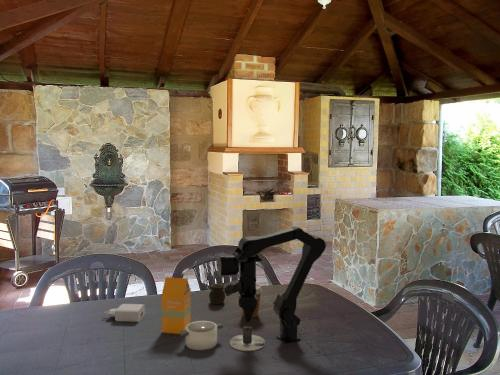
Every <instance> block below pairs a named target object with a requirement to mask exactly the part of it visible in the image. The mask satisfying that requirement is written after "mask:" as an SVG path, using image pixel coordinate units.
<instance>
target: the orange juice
mask: <svg viewBox="0 0 500 375" xmlns="http://www.w3.org/2000/svg"><path fill="white" fill-rule="evenodd" d="M191 291H192V290H191V287H190V284H189V281H188V278H186V277H185V278H182V277H169V276H167V277H166V276H165V277H164V283H163V287H162V292H161V333H163V334H165V333H166V334H175V335H176V334H177V335H180V334H179V331H184V330H186V326H187V325H188V324H189V323H192V322H191V316H192V315H191V312H192V308H191V307H192V305H191V304H192V303H191Z"/></svg>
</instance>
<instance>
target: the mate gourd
mask: <svg viewBox="0 0 500 375" xmlns="http://www.w3.org/2000/svg"><path fill="white" fill-rule="evenodd" d="M226 283H227V281H224V282H223V283H212V284H211V286H210V291H209V294H208V298H209V302H210V303H211V304H213V305H222V304H223V303H224V301H225V299H226V294H225V292H224V288H223V286H224V284H226Z"/></svg>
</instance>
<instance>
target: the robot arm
mask: <svg viewBox="0 0 500 375" xmlns="http://www.w3.org/2000/svg"><path fill="white" fill-rule="evenodd" d="M295 240H298V241H299V242H301V243H302V244H303V245H302V248H301V251H302V252H301V258H300V260H299V262H298V264H297V266H296V268H295V271H294V273H293V275H292V277H291V279H290V281H289V283H288V285H287V287H286V289H285V292H284V293H282V294H279V293H278V294H277V295H276V298H275V300H274V301H273V303H272V305H273V312H274V314H275V315H277V317H278V319H280V320H279V334H277V335H276V338H278V340H281V341H282V342H284V343H287V344H288V343H292V342H296V341H300V340H301V337H300V336H299V335H298V326H300V324H301V321H302V320H301V319H300V317H298V316H297V315H296V311H297V303H298V302H297V301H298V297H299V295H300V292H301V291H302V289H303V286H304V285H305V282H306V280H307V277H308V275H309V274H310V271H311V269H312V267H313V265H314V263H315V262H316V261H317V260H318V259H319V258H321V256H322V255H323V254H324V252H325V250H326V248H327V244H326V242H325V240H324V239H323V238H322V237H319V236H317V235H314V234H310V233H308V232H306V231H305V230H303V229H302V228H301V227H298V226H292V227H290V228H287V229H283V230H280V231H276V232H272V233H269V234H265V235H260V236H259V235H258V236H257V235H255V236H254V235H253V236H244V237H241V238H240V240H239V241H238V244H237V247H236V249H235V250H234V251H233V253H232V255H219V256H218V257H219V258H218V261H217V262H218V263H217V272H218V276H219V277H228V276H229V277H230V276H237V274H239V276H238V279H235V280H231V281H229V282H226V283H225V284H224V283H223V284H224V285H223V288H224V289H223V290H224V293H225V297H229V296H231V295H234V294H236V293H238V294H239V296H238V306H239V308H241V309H242V308H243V310H244V314H245V317H244V318H245V322H246V323H250V321H251V320H252V318H253V317H252V315H253V313H254V311H255V309H256V307H257V296H256V284H257V262H262V261H263V259H262V258H261V257H260V256H259V254H260V253H262V251H264V250H266V249H267V248H270V247H273V246H278V245H281V244H286V243H287V242H292V241H295Z"/></svg>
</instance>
